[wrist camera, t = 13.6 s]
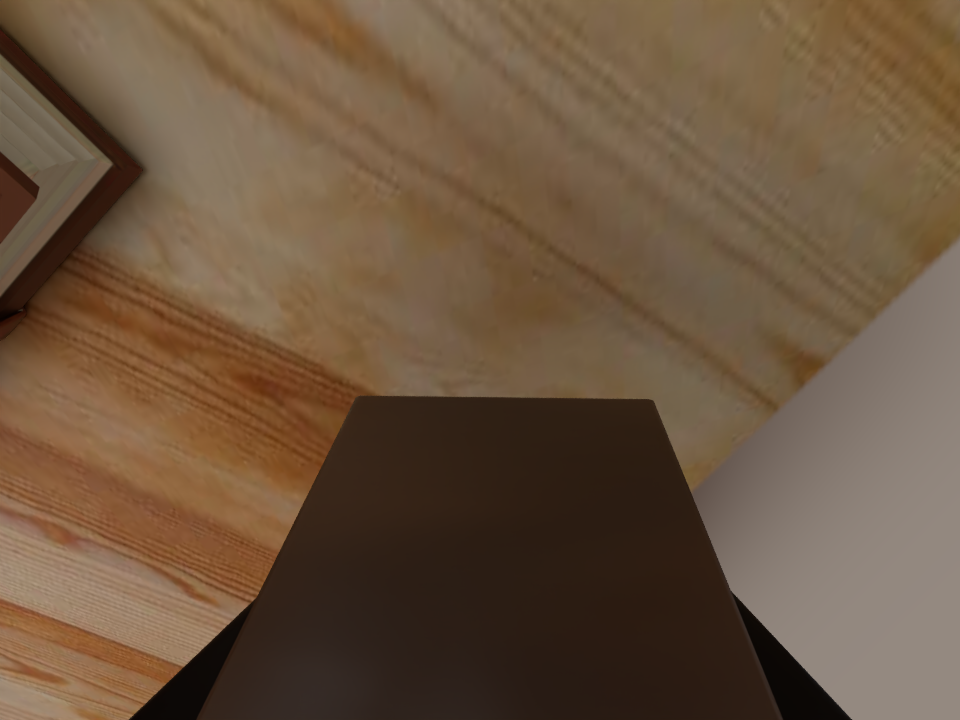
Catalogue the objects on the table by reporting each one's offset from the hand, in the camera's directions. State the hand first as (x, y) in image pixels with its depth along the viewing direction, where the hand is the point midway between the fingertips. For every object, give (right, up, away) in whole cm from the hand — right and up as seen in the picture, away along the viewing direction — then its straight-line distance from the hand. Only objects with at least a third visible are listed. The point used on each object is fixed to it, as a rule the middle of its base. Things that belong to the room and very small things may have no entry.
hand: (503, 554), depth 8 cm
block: (0, 0, +1) cm, 1 cm away
